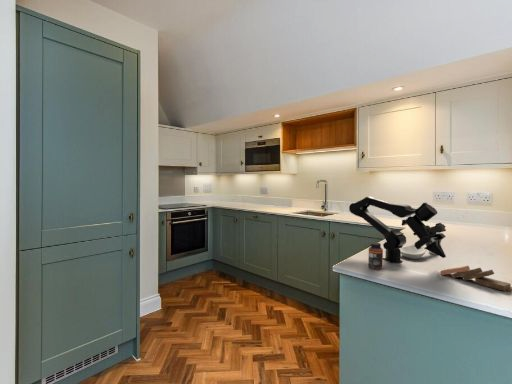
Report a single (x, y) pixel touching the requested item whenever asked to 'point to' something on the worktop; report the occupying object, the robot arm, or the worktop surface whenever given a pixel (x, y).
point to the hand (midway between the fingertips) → (444, 257)
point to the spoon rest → (414, 251)
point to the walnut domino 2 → (478, 275)
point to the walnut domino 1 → (467, 273)
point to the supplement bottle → (375, 256)
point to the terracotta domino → (455, 270)
